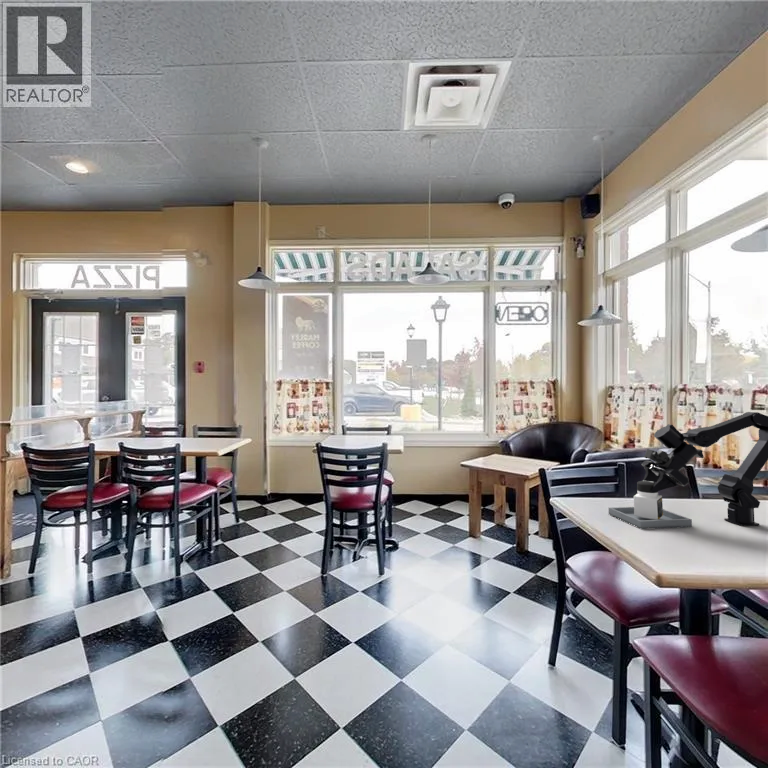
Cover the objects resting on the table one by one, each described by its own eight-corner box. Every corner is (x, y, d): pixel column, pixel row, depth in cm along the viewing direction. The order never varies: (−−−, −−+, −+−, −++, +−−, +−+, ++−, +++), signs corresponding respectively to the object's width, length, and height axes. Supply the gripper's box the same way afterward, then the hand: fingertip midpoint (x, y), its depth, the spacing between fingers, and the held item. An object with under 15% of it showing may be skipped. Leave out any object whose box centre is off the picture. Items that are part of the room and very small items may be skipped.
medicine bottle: (658, 520, 130) (656, 484, 130) (634, 516, 135) (632, 481, 135) (663, 515, 135) (661, 481, 135) (639, 511, 140) (637, 478, 140)
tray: (654, 512, 143) (654, 506, 143) (692, 527, 127) (691, 519, 127) (608, 514, 142) (608, 507, 142) (640, 529, 126) (640, 521, 126)
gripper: (645, 438, 144) (615, 468, 145) (676, 444, 126) (642, 478, 127) (669, 459, 143) (639, 489, 144) (704, 469, 124) (669, 502, 125)
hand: (646, 489), depth 135 cm, fingers closed on medicine bottle, 6 cm apart
